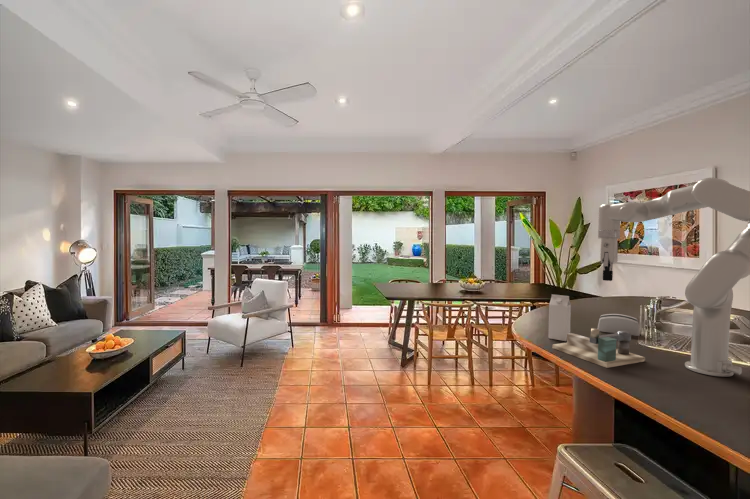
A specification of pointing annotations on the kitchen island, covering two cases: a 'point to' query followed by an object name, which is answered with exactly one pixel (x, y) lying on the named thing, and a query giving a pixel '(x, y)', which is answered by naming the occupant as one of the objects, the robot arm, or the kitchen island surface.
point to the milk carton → (559, 317)
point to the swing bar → (618, 336)
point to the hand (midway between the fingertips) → (607, 280)
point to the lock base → (592, 355)
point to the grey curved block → (618, 324)
